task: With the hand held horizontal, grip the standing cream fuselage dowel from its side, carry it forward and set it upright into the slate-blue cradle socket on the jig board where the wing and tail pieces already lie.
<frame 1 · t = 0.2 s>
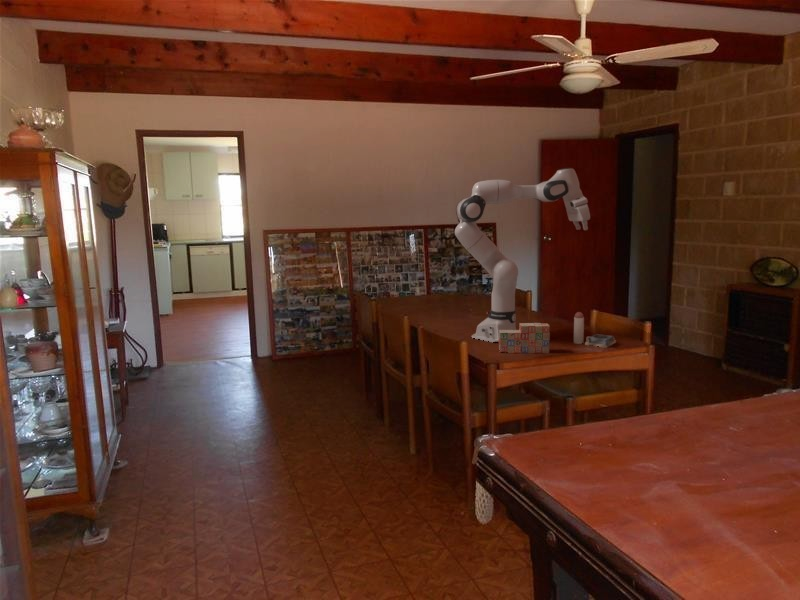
hand: (582, 229, 279), 52 cm above the table, tool tilted 15°, fingers open, 8 cm apart
fuselage: (578, 342, 275), on the table
stack of blocks: (523, 352, 262), on the table
jig: (600, 343, 272), on the table
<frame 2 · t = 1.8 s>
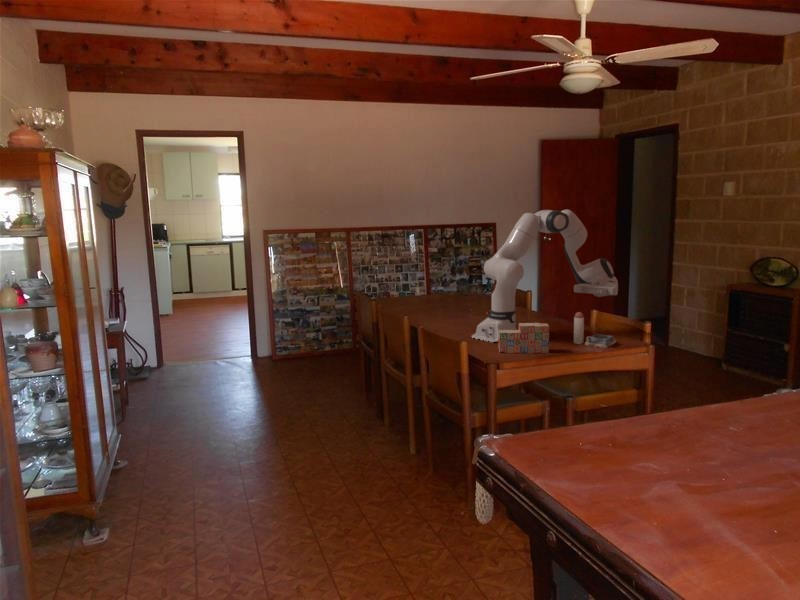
hand: (589, 291, 281), 22 cm above the table, tool horizontal, fingers open, 8 cm apart
nothing on the table moved.
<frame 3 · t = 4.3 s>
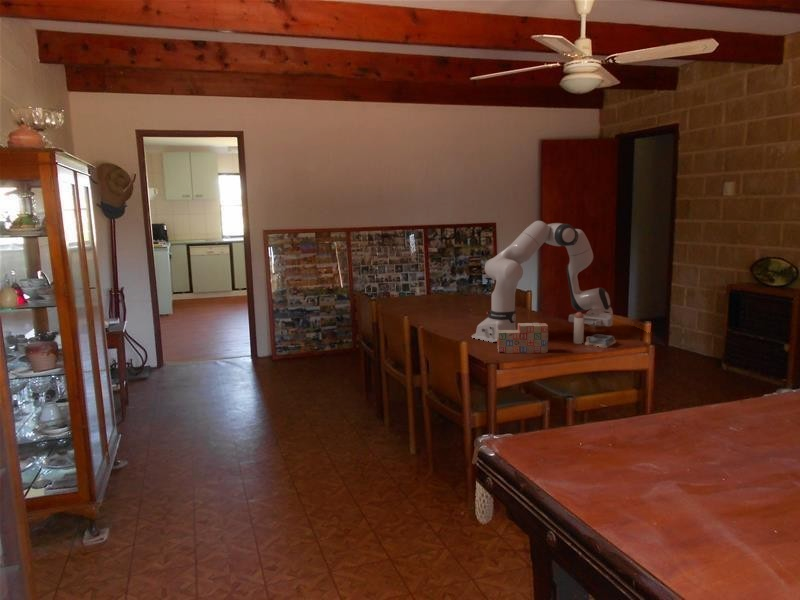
hand: (584, 322, 279), 8 cm above the table, tool horizontal, fingers open, 8 cm apart
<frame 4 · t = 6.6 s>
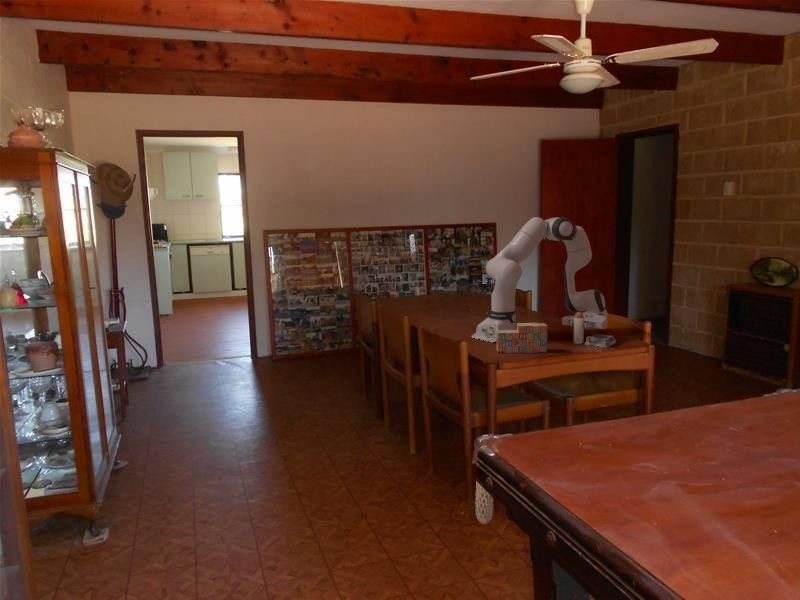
hand: (578, 325, 273), 9 cm above the table, tool horizontal, fingers closed on fuselage, 4 cm apart
fuselage: (578, 342, 275), on the table, touching gripper
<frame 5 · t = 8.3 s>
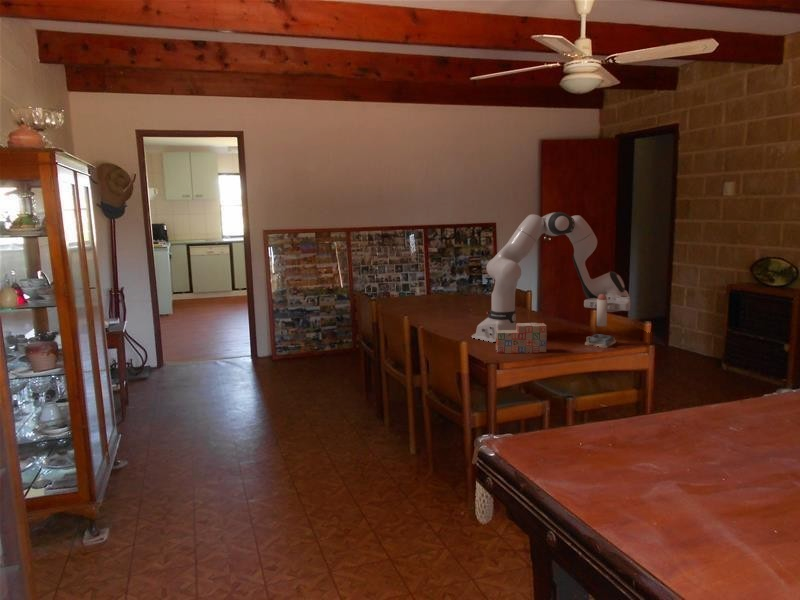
hand: (601, 307, 267), 17 cm above the table, tool horizontal, fingers closed on fuselage, 4 cm apart
fuselage: (601, 325, 269), point 9 cm above the table, touching gripper
when the fingers open (11 cm above the table, at t = 10.1 s): fuselage drops 1 cm, resting on jig.
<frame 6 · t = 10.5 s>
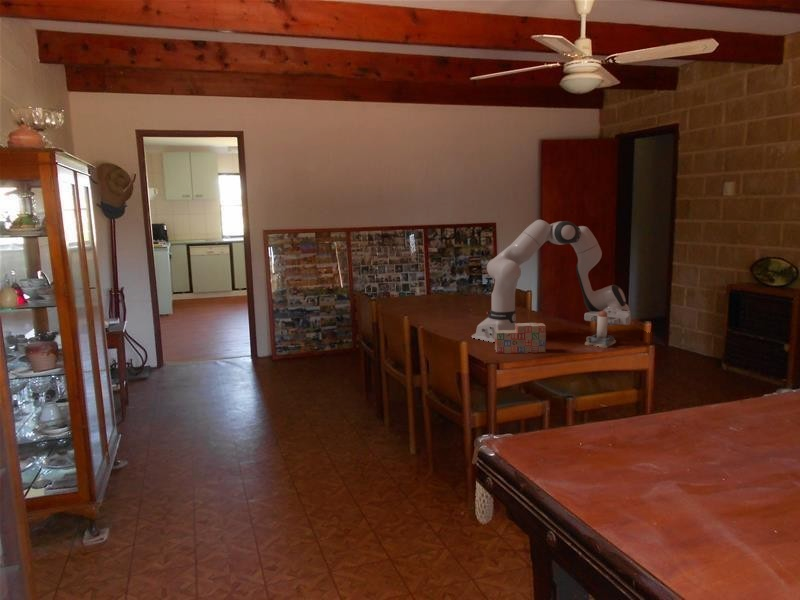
hand: (601, 320, 268), 11 cm above the table, tool horizontal, fingers open, 8 cm apart
fuselage: (601, 342, 270), point 1 cm above the table, touching jig
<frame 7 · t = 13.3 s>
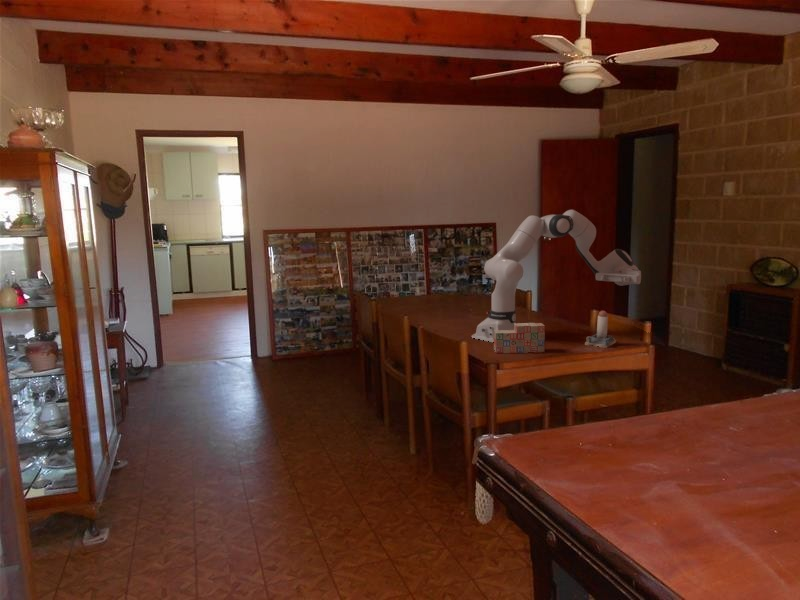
hand: (612, 279, 275), 29 cm above the table, tool horizontal, fingers open, 8 cm apart
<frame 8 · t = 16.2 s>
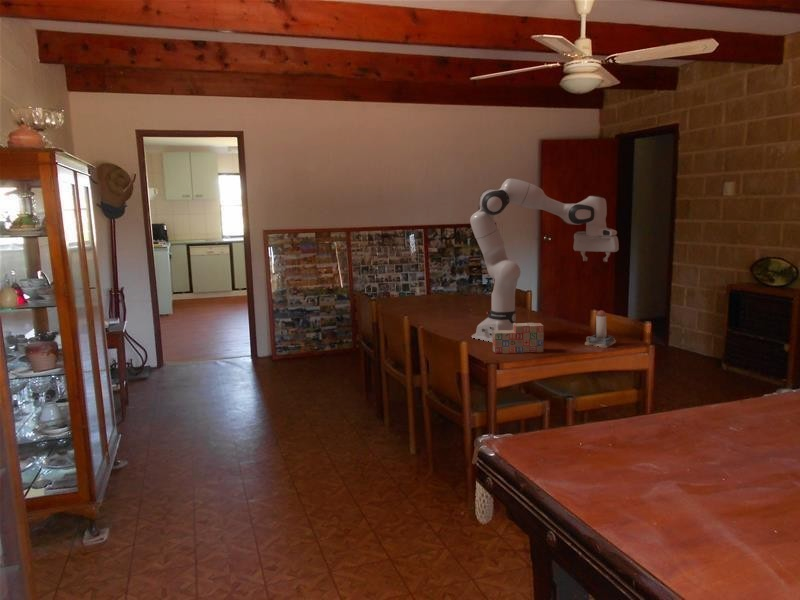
hand: (595, 261, 275), 37 cm above the table, tool pointing down, fingers open, 8 cm apart
at the end: fuselage 0.0 cm from the target spot, point 1.3 cm above the table; fuselage tilted 2°; the gripper is holding nothing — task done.
